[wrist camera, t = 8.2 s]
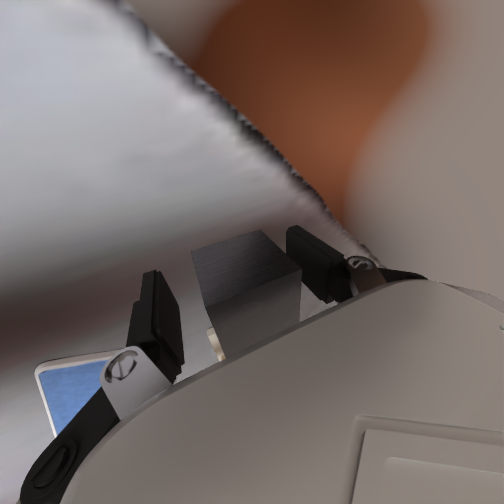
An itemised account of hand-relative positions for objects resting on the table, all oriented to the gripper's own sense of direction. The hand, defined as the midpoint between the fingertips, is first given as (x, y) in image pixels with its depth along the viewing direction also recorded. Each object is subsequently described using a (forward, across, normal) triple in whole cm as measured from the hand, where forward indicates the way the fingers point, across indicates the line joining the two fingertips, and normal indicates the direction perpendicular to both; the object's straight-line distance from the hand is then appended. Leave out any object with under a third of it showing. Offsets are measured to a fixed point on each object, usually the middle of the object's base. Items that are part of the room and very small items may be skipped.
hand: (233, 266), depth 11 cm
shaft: (0, 0, +10) cm, 10 cm away
